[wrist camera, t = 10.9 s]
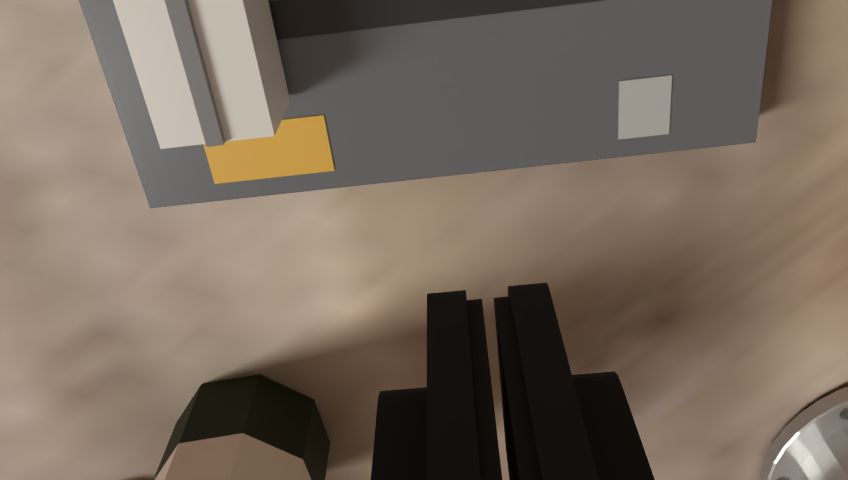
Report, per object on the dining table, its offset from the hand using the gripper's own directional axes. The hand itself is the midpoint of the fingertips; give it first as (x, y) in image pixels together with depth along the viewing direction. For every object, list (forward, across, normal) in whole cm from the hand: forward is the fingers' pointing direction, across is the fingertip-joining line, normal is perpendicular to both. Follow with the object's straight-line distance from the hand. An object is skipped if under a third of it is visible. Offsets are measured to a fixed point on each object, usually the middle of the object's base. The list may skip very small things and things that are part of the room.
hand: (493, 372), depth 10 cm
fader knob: (+19, +8, -1) cm, 21 cm away
